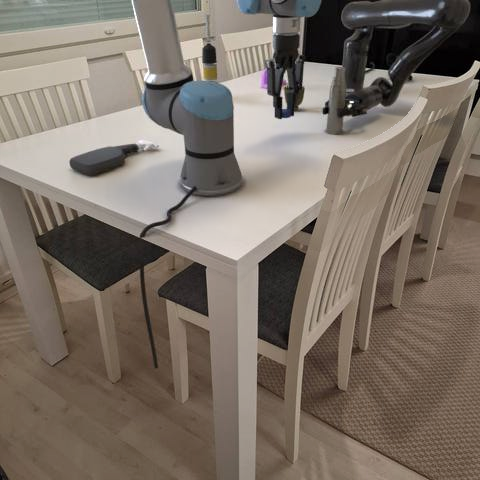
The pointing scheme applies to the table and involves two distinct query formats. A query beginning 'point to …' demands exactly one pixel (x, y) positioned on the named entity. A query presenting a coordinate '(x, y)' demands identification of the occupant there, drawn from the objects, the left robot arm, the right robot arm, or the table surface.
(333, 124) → the bottle
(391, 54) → the squiggle
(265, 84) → the bracket
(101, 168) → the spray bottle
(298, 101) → the cup
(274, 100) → the left robot arm
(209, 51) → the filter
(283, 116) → the cap
